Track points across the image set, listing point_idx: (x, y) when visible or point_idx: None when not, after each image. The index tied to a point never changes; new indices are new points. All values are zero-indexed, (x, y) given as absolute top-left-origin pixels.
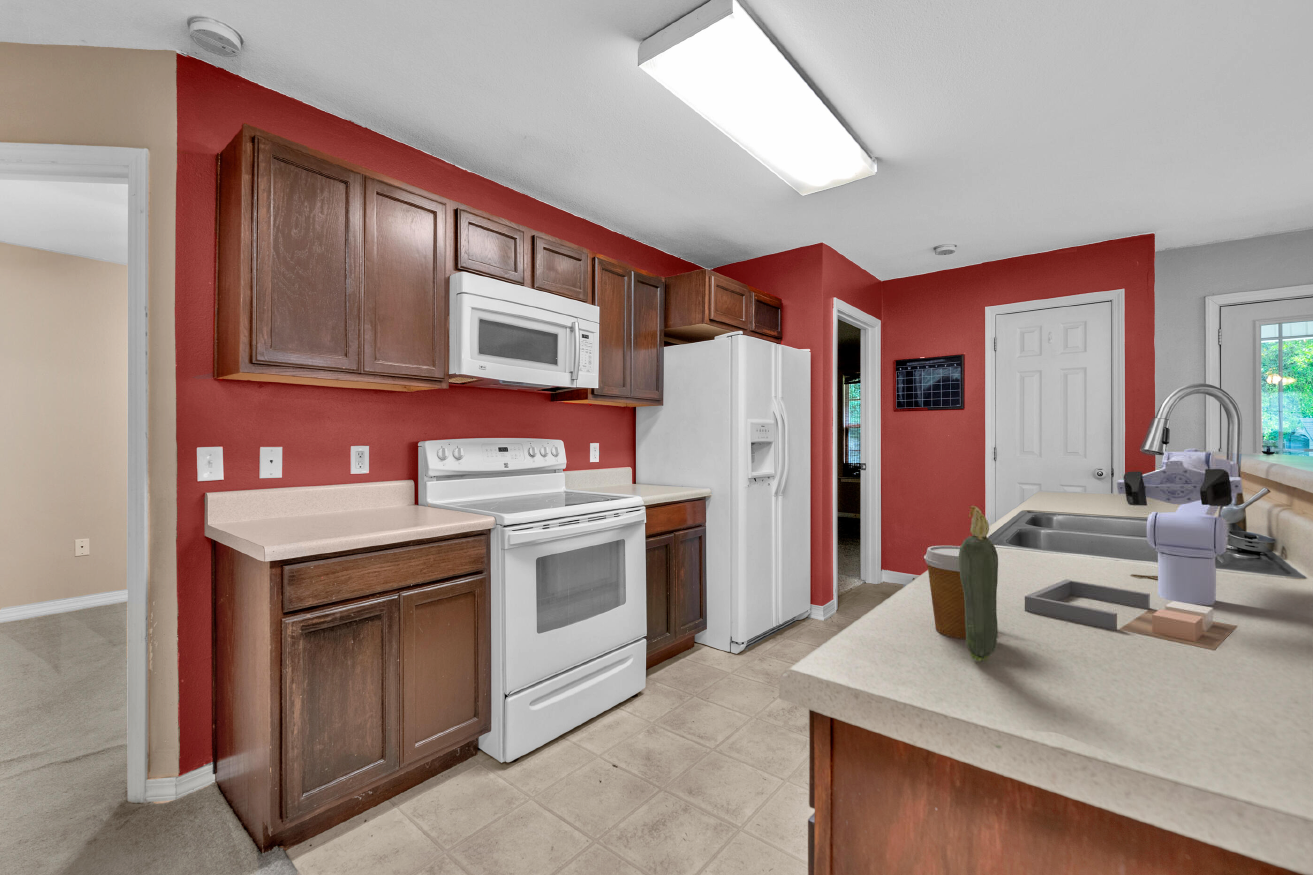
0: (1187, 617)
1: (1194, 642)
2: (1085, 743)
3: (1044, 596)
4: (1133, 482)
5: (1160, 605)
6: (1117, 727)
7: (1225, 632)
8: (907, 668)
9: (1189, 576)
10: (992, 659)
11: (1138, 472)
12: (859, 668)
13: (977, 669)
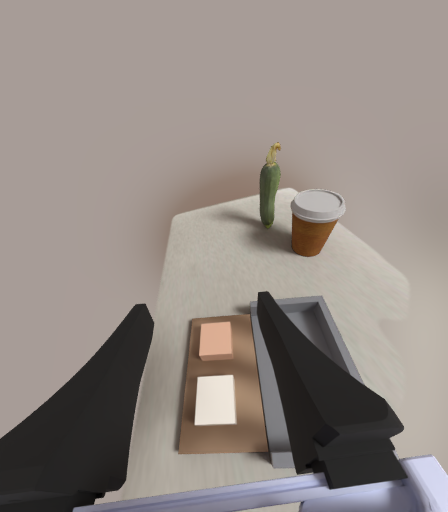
0: (208, 339)
1: None
2: (213, 209)
3: (328, 329)
4: (297, 337)
5: None
6: (210, 220)
7: (188, 393)
8: (276, 206)
9: None
10: (266, 231)
11: (337, 417)
12: (284, 197)
13: None
